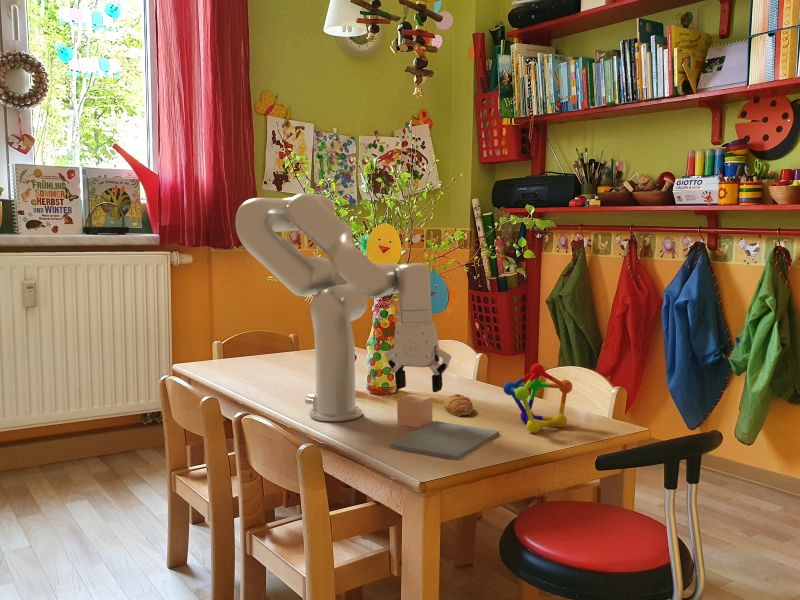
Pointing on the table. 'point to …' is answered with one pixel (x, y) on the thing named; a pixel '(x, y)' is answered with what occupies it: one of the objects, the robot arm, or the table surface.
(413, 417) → the cube
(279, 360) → the table surface
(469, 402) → the pastry
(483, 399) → the table surface
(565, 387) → the educational toy
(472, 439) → the mat
